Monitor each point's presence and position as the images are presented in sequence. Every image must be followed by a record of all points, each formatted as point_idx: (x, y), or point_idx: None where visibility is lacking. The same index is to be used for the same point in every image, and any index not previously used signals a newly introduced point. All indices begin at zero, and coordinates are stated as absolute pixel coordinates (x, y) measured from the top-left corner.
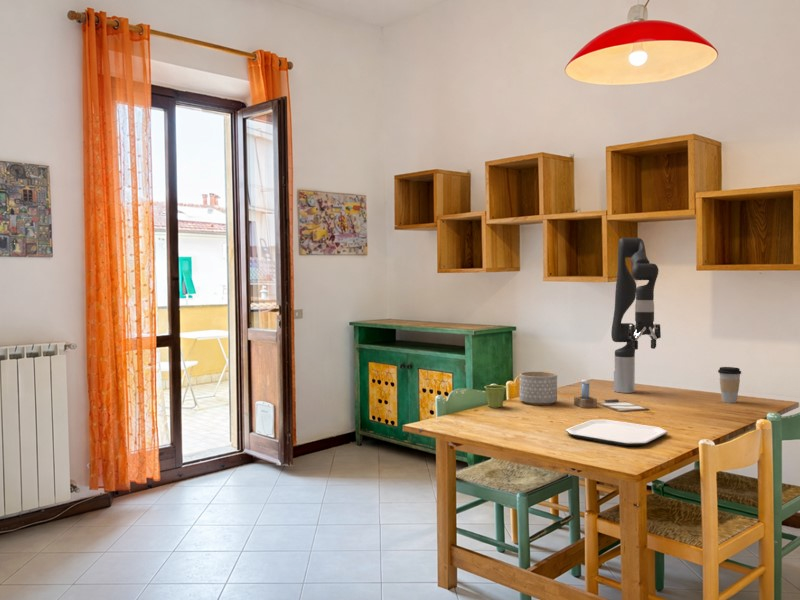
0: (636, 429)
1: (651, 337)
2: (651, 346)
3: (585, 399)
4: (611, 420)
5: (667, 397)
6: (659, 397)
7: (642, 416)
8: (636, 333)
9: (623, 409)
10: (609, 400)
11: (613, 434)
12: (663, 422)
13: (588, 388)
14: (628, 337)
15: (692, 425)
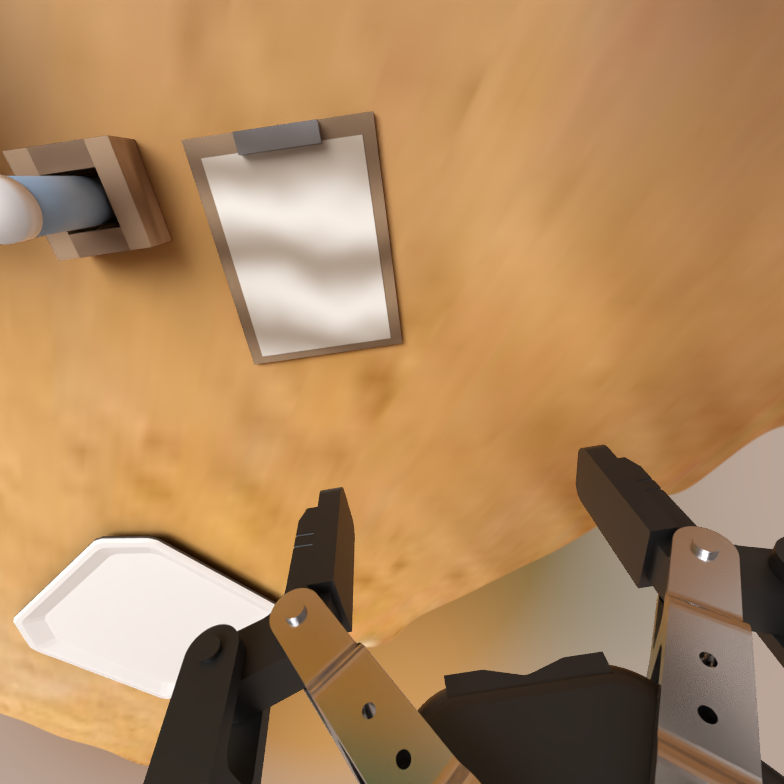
0: (224, 606)
1: (677, 575)
2: (590, 470)
3: (79, 255)
4: (165, 553)
5: None
6: None
7: (321, 442)
8: (340, 747)
9: (280, 347)
10: (259, 151)
11: (150, 638)
12: (353, 518)
13: (59, 231)
14: (191, 662)
15: (418, 550)
